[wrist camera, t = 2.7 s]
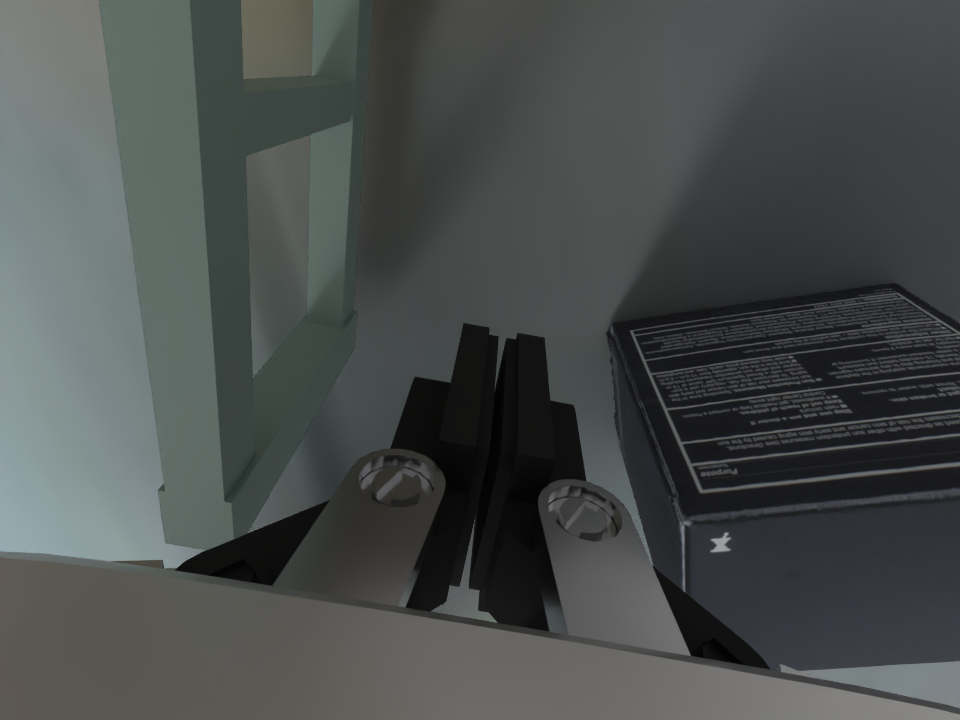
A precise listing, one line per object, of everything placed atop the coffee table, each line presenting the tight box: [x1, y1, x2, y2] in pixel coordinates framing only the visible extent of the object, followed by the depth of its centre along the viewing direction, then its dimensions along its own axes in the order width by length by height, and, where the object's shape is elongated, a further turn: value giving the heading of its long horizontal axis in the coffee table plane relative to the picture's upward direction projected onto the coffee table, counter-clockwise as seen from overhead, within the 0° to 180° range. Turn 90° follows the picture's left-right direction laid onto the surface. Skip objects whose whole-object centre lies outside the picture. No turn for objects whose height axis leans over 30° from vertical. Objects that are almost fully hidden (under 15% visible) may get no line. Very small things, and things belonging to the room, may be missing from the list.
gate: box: [99, 0, 373, 550], centre depth 12 cm, size 18×2×11 cm, turn 171°
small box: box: [606, 283, 960, 671], centre depth 17 cm, size 11×6×10 cm, turn 101°
